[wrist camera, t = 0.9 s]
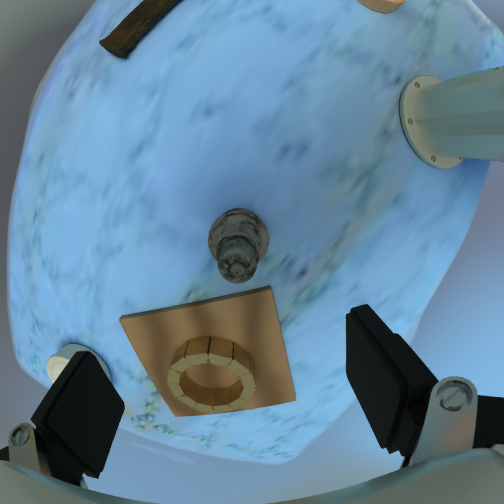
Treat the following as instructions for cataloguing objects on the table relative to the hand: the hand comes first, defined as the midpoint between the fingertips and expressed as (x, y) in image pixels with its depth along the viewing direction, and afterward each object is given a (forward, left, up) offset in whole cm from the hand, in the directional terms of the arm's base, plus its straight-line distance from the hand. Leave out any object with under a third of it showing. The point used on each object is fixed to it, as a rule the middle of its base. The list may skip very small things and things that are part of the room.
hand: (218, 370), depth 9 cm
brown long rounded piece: (+2, -30, -22) cm, 38 cm away
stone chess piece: (0, 0, -22) cm, 22 cm away
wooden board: (+8, +17, -22) cm, 29 cm away
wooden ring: (+8, +17, -21) cm, 28 cm away
